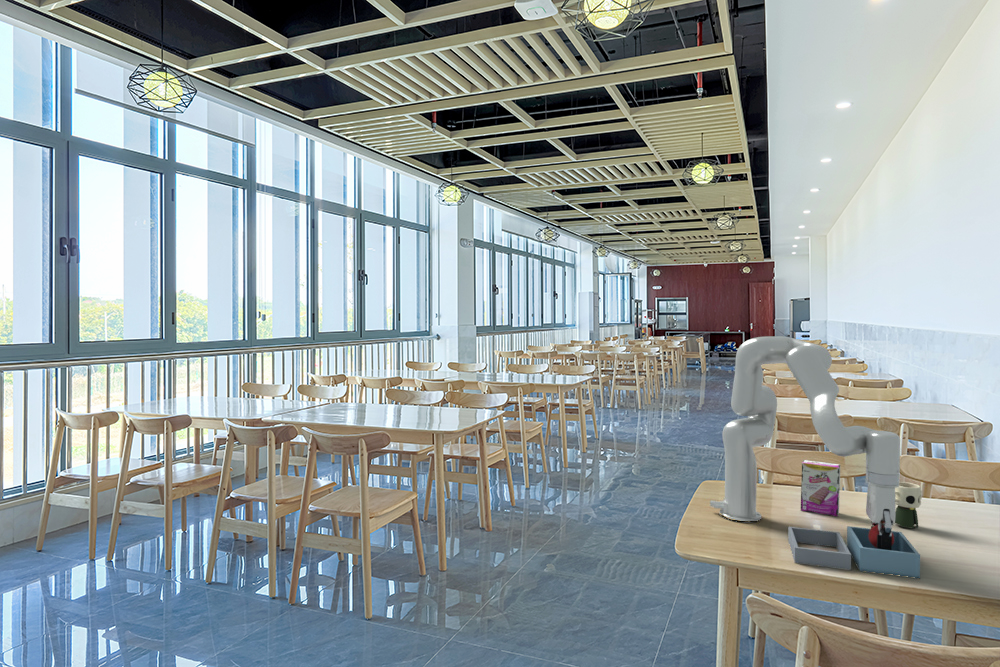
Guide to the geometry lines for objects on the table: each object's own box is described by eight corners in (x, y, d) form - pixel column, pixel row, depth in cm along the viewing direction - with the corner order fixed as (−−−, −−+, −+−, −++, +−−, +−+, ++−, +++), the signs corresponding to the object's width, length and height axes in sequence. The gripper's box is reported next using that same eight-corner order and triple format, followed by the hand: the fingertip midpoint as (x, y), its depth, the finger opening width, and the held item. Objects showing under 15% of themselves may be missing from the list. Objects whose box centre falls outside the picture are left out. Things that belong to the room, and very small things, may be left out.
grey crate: (794, 562, 159) (795, 547, 159) (788, 540, 175) (788, 526, 175) (850, 569, 155) (851, 554, 155) (838, 546, 171) (839, 532, 171)
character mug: (901, 531, 182) (902, 489, 182) (881, 523, 189) (882, 482, 189) (930, 529, 185) (931, 486, 184) (910, 521, 192) (911, 480, 191)
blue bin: (859, 571, 154) (860, 547, 154) (846, 547, 170) (847, 526, 170) (919, 578, 150) (920, 554, 150) (900, 553, 166) (901, 531, 166)
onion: (897, 556, 157) (898, 525, 156) (873, 554, 158) (874, 524, 157) (888, 547, 162) (889, 518, 162) (864, 546, 163) (865, 516, 163)
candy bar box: (800, 511, 202) (801, 462, 201) (802, 507, 206) (802, 459, 205) (838, 517, 196) (839, 466, 195) (839, 513, 200) (840, 463, 199)
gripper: (859, 469, 169) (857, 533, 169) (873, 485, 153) (872, 556, 153) (890, 471, 166) (888, 536, 167) (908, 488, 150) (906, 560, 151)
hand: (880, 545), depth 160 cm, fingers closed on onion, 5 cm apart
